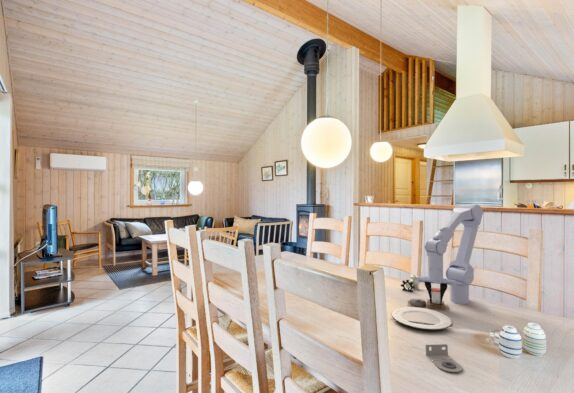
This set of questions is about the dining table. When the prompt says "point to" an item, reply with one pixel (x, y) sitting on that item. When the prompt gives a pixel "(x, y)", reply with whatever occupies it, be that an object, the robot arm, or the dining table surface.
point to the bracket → (443, 363)
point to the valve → (411, 284)
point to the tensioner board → (427, 304)
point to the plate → (398, 317)
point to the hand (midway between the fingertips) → (435, 300)
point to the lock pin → (435, 296)
